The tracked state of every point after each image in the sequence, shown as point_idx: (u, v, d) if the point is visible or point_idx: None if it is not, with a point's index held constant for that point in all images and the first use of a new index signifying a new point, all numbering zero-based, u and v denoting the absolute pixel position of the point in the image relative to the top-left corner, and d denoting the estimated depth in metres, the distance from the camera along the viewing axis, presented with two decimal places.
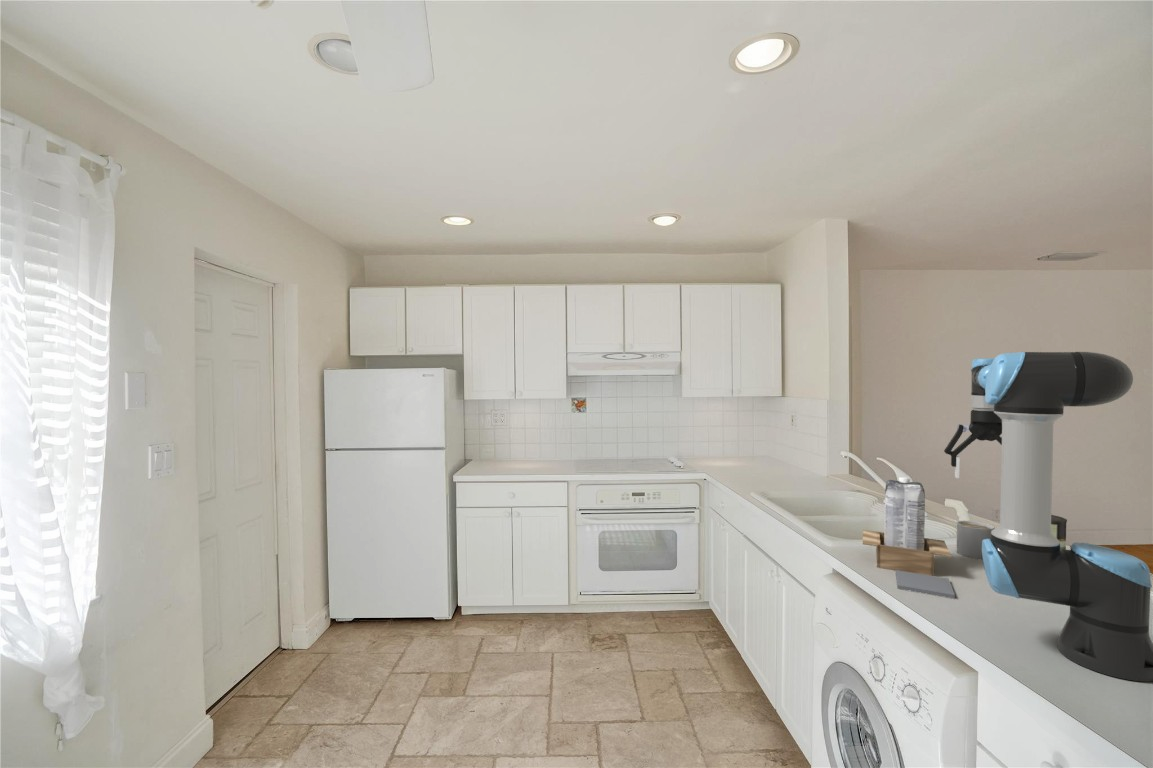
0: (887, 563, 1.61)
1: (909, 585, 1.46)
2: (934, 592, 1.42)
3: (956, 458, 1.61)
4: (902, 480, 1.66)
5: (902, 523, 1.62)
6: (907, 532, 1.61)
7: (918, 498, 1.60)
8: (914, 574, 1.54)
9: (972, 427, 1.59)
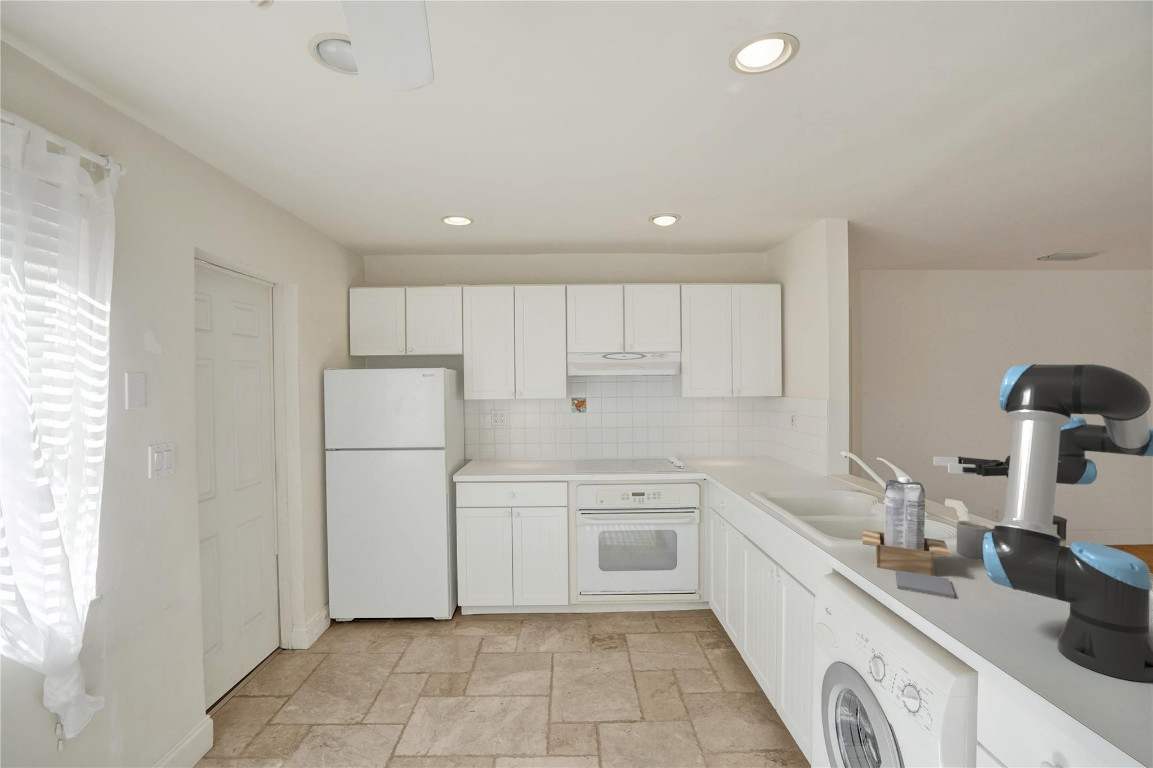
0: (887, 563, 1.61)
1: (909, 585, 1.46)
2: (934, 592, 1.42)
3: None
4: (902, 480, 1.66)
5: (902, 523, 1.62)
6: (907, 532, 1.61)
7: (918, 498, 1.60)
8: (914, 574, 1.54)
9: None
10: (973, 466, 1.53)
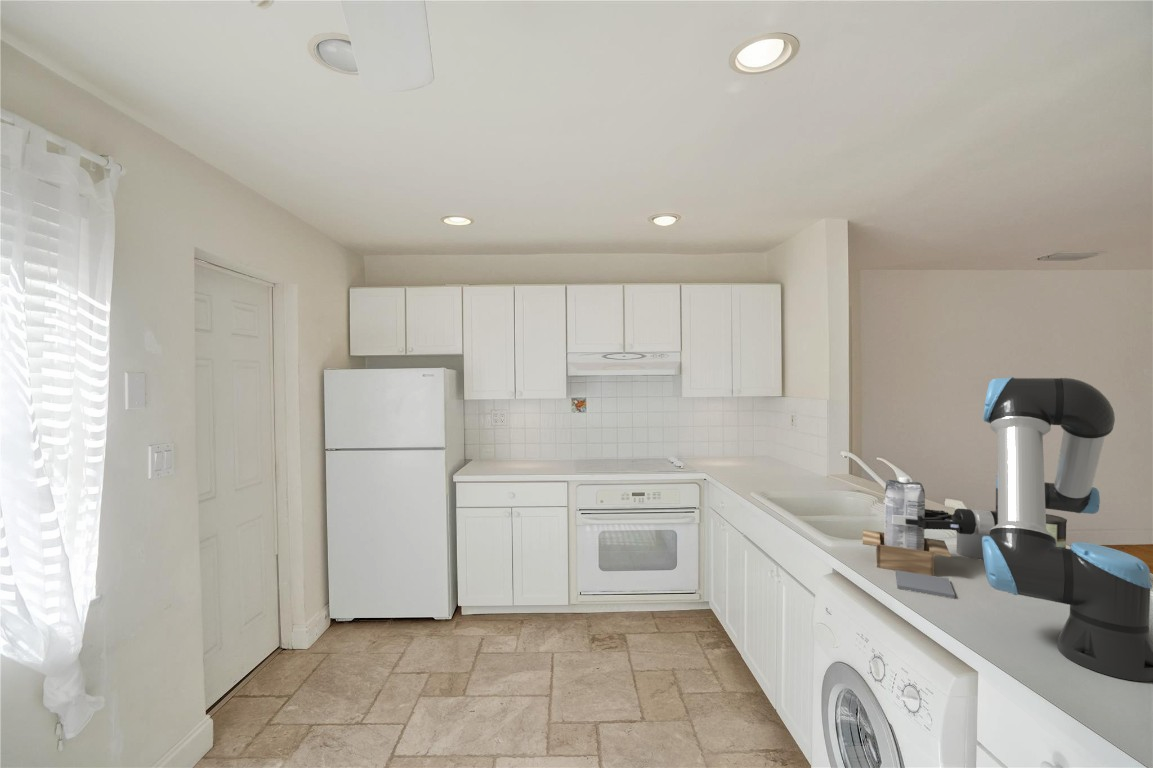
0: (887, 563, 1.61)
1: (909, 585, 1.46)
2: (934, 592, 1.42)
3: None
4: (902, 480, 1.66)
5: None
6: (907, 532, 1.61)
7: (918, 498, 1.60)
8: (914, 574, 1.54)
9: None
10: (915, 518, 1.59)
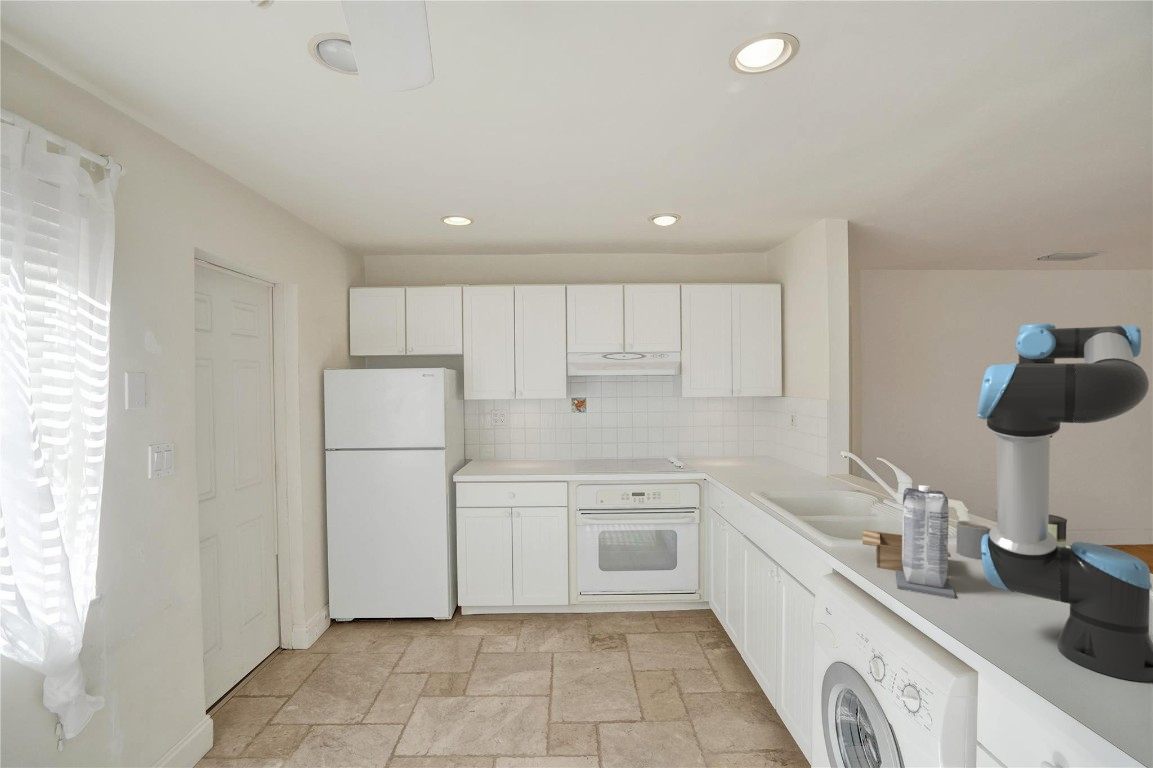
0: (887, 563, 1.61)
1: (909, 585, 1.46)
2: (934, 592, 1.42)
3: None
4: (922, 488, 1.49)
5: (923, 537, 1.45)
6: (928, 547, 1.44)
7: (941, 509, 1.43)
8: None
9: None
10: None
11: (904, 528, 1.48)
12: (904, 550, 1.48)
